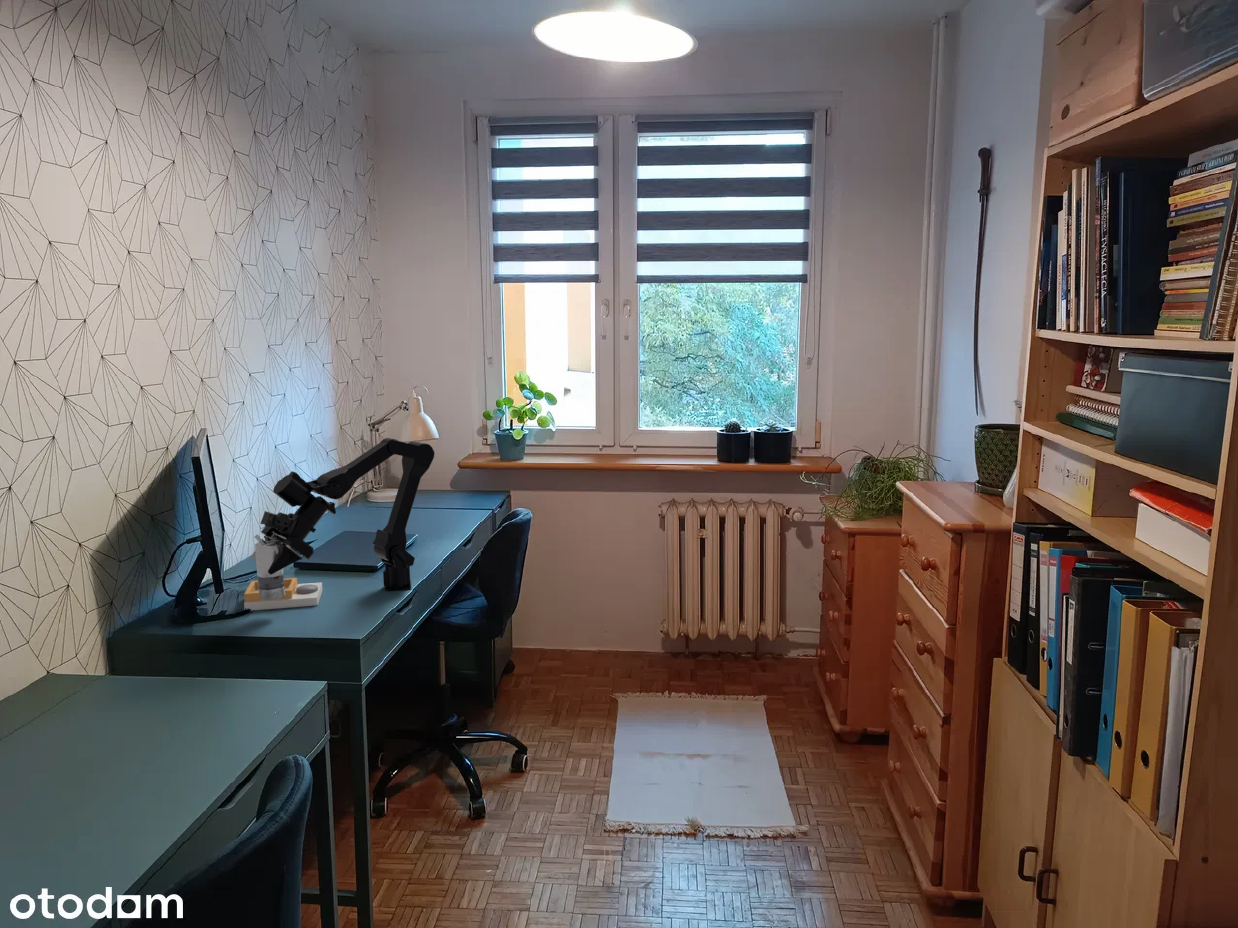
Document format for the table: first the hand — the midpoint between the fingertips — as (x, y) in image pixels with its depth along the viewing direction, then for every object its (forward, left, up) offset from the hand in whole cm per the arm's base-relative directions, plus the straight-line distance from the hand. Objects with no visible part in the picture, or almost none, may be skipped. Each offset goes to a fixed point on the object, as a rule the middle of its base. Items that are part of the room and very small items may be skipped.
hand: (264, 570), depth 211 cm
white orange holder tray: (-2, -13, -11) cm, 17 cm away
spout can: (-1, -1, -7) cm, 7 cm away
